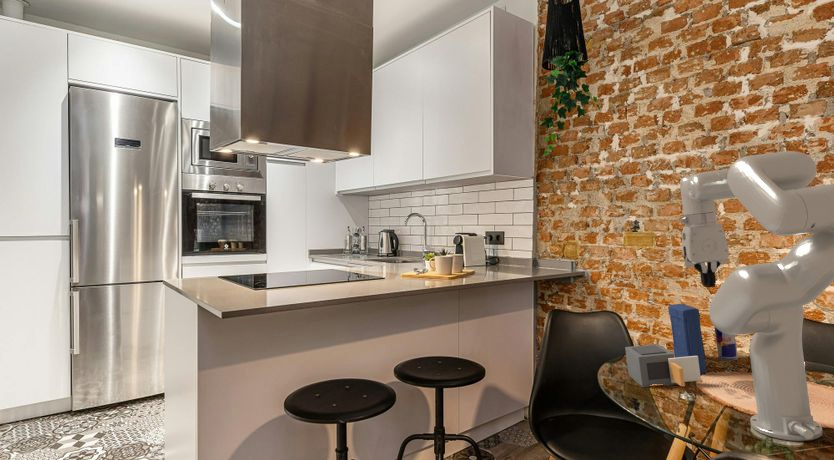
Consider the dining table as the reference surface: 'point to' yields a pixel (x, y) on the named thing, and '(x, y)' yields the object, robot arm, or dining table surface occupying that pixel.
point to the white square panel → (684, 369)
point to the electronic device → (687, 333)
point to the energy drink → (726, 346)
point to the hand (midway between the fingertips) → (709, 286)
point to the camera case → (649, 364)
